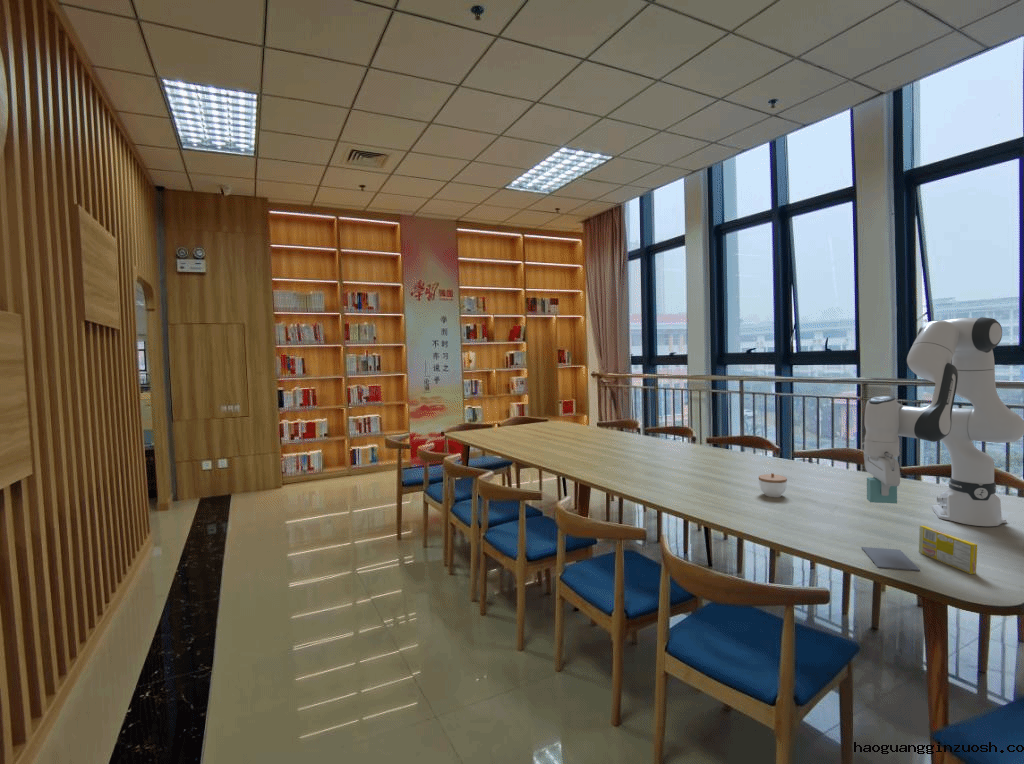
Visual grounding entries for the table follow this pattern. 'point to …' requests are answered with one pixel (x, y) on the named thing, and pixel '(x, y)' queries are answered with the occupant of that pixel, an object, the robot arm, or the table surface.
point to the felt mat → (890, 559)
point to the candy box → (948, 549)
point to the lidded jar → (772, 484)
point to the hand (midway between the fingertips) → (881, 492)
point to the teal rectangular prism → (875, 494)
